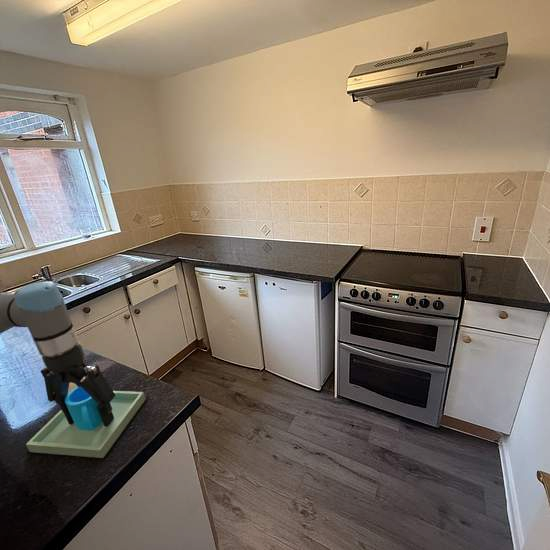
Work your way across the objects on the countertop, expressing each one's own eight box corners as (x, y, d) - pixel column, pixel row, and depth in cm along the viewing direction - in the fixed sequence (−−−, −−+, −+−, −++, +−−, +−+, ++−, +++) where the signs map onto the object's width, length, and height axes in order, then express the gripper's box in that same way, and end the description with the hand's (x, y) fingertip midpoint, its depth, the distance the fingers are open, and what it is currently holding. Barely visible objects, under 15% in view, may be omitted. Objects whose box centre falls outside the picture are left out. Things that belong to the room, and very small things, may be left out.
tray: (29, 452, 70) (25, 444, 69) (84, 396, 86) (81, 389, 85) (103, 458, 67) (99, 450, 66) (146, 398, 83) (143, 391, 82)
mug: (76, 413, 80) (66, 389, 77) (110, 400, 83) (101, 376, 80) (73, 447, 70) (61, 421, 67) (112, 430, 73) (102, 405, 70)
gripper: (114, 338, 70) (139, 411, 78) (34, 338, 74) (65, 407, 82) (91, 359, 63) (121, 436, 71) (4, 357, 67) (42, 431, 75)
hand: (91, 421), depth 76 cm, fingers closed on tray, 9 cm apart
